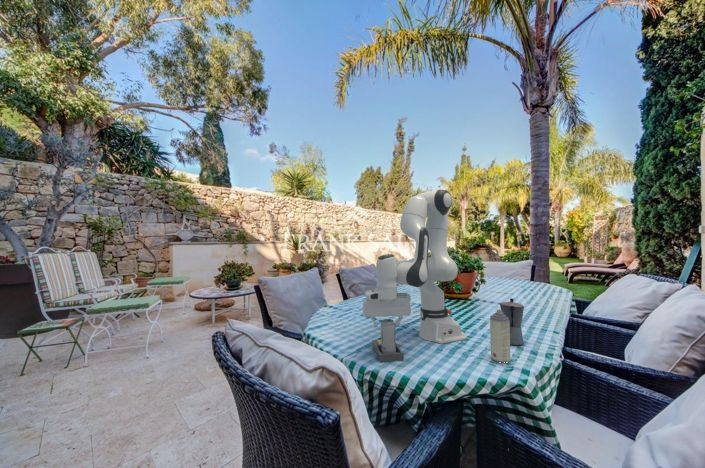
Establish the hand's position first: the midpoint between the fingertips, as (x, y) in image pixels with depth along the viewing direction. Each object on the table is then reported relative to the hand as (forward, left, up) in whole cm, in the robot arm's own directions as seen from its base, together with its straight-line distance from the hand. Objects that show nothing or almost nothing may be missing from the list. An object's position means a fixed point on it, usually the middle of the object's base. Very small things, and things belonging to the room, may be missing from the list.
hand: (386, 326), depth 115 cm
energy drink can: (-1, 0, -13) cm, 13 cm away
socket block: (-1, -3, -13) cm, 13 cm away
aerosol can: (-44, +11, -13) cm, 47 cm away
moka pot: (-60, -3, -13) cm, 61 cm away
